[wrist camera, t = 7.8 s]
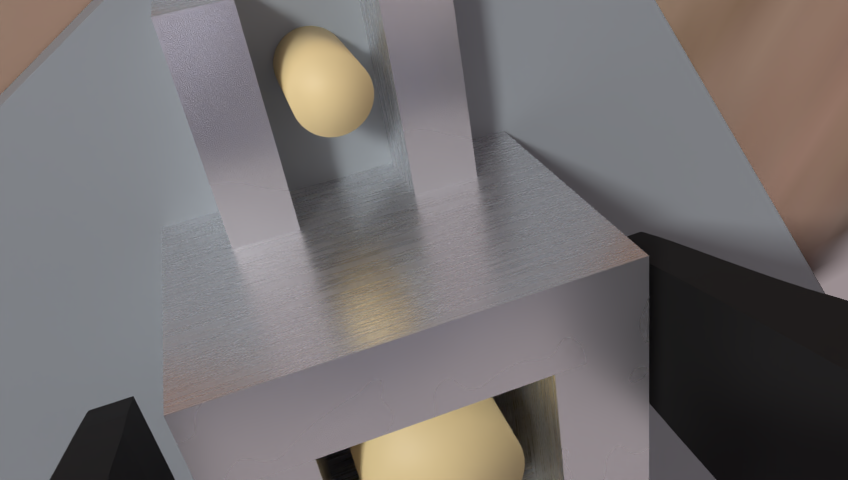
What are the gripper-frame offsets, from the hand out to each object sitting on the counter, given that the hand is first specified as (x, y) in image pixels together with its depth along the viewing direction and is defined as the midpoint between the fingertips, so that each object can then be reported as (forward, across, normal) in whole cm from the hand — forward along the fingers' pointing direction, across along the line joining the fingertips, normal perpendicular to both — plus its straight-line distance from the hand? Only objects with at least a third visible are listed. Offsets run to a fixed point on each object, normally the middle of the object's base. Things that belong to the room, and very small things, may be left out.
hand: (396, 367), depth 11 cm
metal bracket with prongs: (+1, 0, -1) cm, 2 cm away
